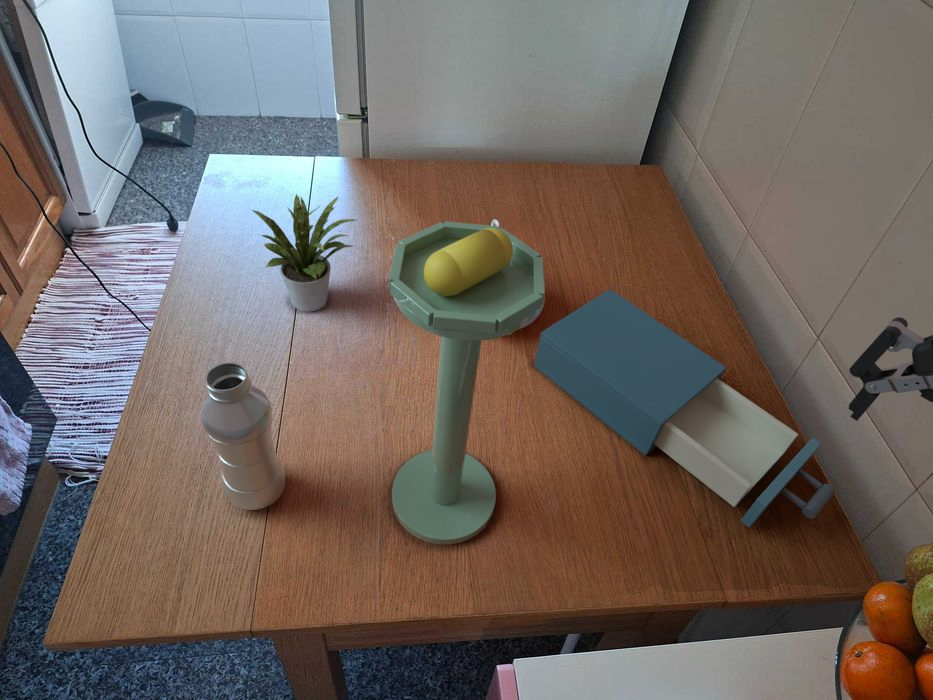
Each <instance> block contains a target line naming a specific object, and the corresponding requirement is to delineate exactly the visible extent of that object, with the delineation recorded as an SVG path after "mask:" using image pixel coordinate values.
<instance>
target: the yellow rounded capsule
mask: <svg viewBox="0 0 933 700" xmlns="http://www.w3.org/2000/svg"><path fill="white" fill-rule="evenodd" d="M512 255H513V246H512V243H511V240H510V238H509V237H508V236H507V235H506V234H505V233H504V232H503V231H501V230H499V229H496V228H486V229H482V230H480V231H478V232H476V233H474V234H472V235H469V236H467V237H465V238H463V239H461V240H459V241H457V242H455V243H453V244H451V245H449V246H446V247H444V248H442V249H440V250H438V251H436V252H435V253H433V254H432V255H431V256H430V257H429V258H428V259H427V261H426V263H425V266H424V279H425V282H426V284H427V285H428V287H429V288H430V289H431V290H432V291H433V292H435V293H436V294H439V295H442V296H453V295H456V294H458V293H460V292H462V291H464V290H466V289H468V288H470V287H471V286H473V285H475V284H477V283H479V282H481V281H483V280H485V279H486V278H488V277H490V276H492V275H494V274H496V273H498V272H500V271H501V270H503V269H504V268H505V267H506V266H507V265H508V264H509V263H510V261H511V259H512Z"/></svg>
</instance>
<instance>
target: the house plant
mask: <svg viewBox="0 0 933 700" xmlns="http://www.w3.org/2000/svg"><path fill="white" fill-rule="evenodd" d="M338 198H339V196H336V197H335V198H334V199H333V200H331V201H330V202H329V203H328V204H327V205H326V206H325V207H324V209H323V210H322V213H321V214H320V216H319V218H318V220H317V221H316V223H315V225H314V224H310V216H311V215H312V214H313V213H314V212H315V211H316V210H318V209H320V207H321V206H322V205H321V204H320V205H319V206H317V207H315V209H313V210H311V211H310V212H308V208H307V205H306V203H305V200H304V199H303V198H302V196H300V197H299V195H298V193H296V194H295V196H294V201H293V211H292V209H290V208H289V206H288V207H287V210H288V211H289V213H290V215H291V218H292V219H293V220H292V221H293V223H292V225H293V226H292V231H293V234H294V239H295V241H294V242H295V244H294V245H293V244H292V242H291V241H290V240H289V238H288V236H287V235H286V234H285V232H284V231H283V229H282V228H281V227H280V225H279V224H278V223H277V222H276V221H275V220H274V219H272V218H270V217H269V216H267V215H265V214H264V213H263V212H261V211H258V210H254V209H251V211H252V212H253V213H255V214H256V215H257V216H258V217H259V218H260V219H261V220H262V221H263V222H264V223H265V224H266V226H268V228H270V230H271V231H272V234H273V236H274V237H273V236H270V235H268V234H262V235H260V236H261V237H263V238H266V239H269V240H270V241H271V242H267V243H264V244H263V245H264V247H265V248H266V249H267V250H268V251H270V252H272V253H273V254H275V255H278V256H279V257H273V258H272V259H270V260H269V261H268V262H267V264H266V265H265V267H264V269H266V268H272V267H273V268H274V267H278V266H280V267H279V273H280V275H281V277H282V281H283V283H284V285H285V288H286V291H287V295H288V296H289V299H290V302H291V304H292V307H294V308H295V309H297V310H300V311H301V312H307V313H308V312H309V313H310V312H316V311H318V310H320V309H322V308H323V307H325V305H326V304H327V302H328V294H329V287H330V286H329V284H330V278H331V277H330V275H331V268H332V267H331V263H330V261H329V260H328V259H329V258H330V257H332V255H333V254H335V253H337V252H339V251H340V250H343V249H345V248H352V247H353V245H352V244H344V243H343V242H341V241H338V240H337V241H336V239H338V238H340V237H342V238H343V237H349V235H348V234H343V233H342V234H340V233H339V234H338V233H337V234H335V235H333V236H331V237H330V238H328V240H326V241H325V242H324V244H323V245H322V243H321V241H322V240H323V239H324V238H325V236H326V235H327V234H328V233H329V232H331V231H332V230H333V229H335V228H337V227H338V226H340V225H342V224H346V223H351V222H355V221H357V219H355V218H344V219H339V220H336V221H334V222H332V223H330V224H329V225H328V226H327V227H326V228H324V226H325V225H326V224H327V223H328V220H329V219H328V218H329V216H330V214H331V213H332V211H334V209H335V207H334V205H335V204H336V202H337V201H338ZM312 229H313V232H312V233H311V231H312ZM310 235H311V237H310ZM334 240H335V241H334ZM330 249H332V250H330ZM327 250H330V252H329V253H327V255H326V256H323V255H322V254H323V253H326V251H327Z"/></svg>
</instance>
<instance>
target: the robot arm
mask: <svg viewBox="0 0 933 700" xmlns="http://www.w3.org/2000/svg"><path fill="white" fill-rule="evenodd" d="M908 326H909V323H908V321H907V319H905V318H903V317H899V316H898V317H895V318H893V319H892V320H891V321H890V322H889V323H888V324H887V326H886V327H885V328H884V329H883V330H882V331H881V332H880V334H878V336H877V337H876V338H875V339H874V340H873V341H872V342H871V344H870V345H869V346H868V347H867V348H866V349H865V350H864V351H863V352H862V353H861V355H859V357H858V358H857V360H856V361H854V362H853V364H852V365H851V366H850V367H849V371H848V372H849V374H850V375H851V376H853V377H855V378H859V379H860V380H861V382H862V383H863V384H862V388H861V389H860V390H859V392H858V393H857V394H856V396H854V398H853V399H852V400H851V402H850V403H849V404H848V410H849V411H851V412H852V413H851V415H850V416H849V417H850V418H851V419H853V420H854V421H856V422H858V421H859V419H860V418H861V417H862V416H863V415H864V414H865V412H866V411H867V410H868V409H869V408H870V406H871V405H872V404H873V403H874V402H875V401H876V399H877V398H878V397H879V396H880V395H881V394H882V393H889V392H895V394H900V393H907V392H914V391H919V392H920V393H921V394H920V397H921V398H923V399H925V400H926V401H928V402H930V403H933V334H931V335H928V336H925V337H922V336H921V335H919V334H917V333H916V332H914V331H913V330H911V329H909V328H908ZM904 349H908V350H911V351H912V352H911V357H912V361H907V362H903V363H902V364H900V365H897V366H892V367H886V368H880V367H879V366H878V365H877V364H876V363H877V362H878V360H879V359H880V358H881V357H882V356H883V355H884V354H885V353H886V352H887V351H889V353H896V352H900V351H901V350H904Z"/></svg>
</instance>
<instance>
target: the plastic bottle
mask: <svg viewBox="0 0 933 700" xmlns="http://www.w3.org/2000/svg"><path fill="white" fill-rule="evenodd" d="M204 380H205V386H206V391H207V394H208V396H207V397H206V399H205V400H204V403H203V405H202V410H201V415H200V416H201V417H200V419H201V423H202V426H203V428H204V430H205V432H206V433H207V435H208V437H209V438H210V440H211V442H212V443H213V445H214V447H215V449H216V452H217V455H218V457H219V459H220V465H221V471H222V474H221V481H222V489H223V493H224V495H225V496H226V498H227V499H228V501H229V502H230V503H231V504H232V506H234V507H236V508H238V509H240V510H245V511H257V510H262V509H265V508H267V507H269V506H270V505H273V504H274V503H275V502H276V501H278V499H279V498H280V497H281V495H282V494H283V492H284V489H285V485H286V484H285V483H286V471H285V468H284V466H283V464H282V462H281V460H280V458H279V457H278V455H277V452H276V450H275V447H274V442H273V432H272V427H273V425H272V424H273V422H272V421H273V411H272V410H273V409H272V403H271V401H270V399H269V398H268V396H267V395H266V393H265V392H264V391H263V390H262V389H260V388H259V387H257V386H255V385H253V384H252V380H251V378H250V377H249V374H248V371H247V370H246V368H245V367H244V366H243V365H241V364H240V363H236V362H223V363H222V362H221V363H219V364H217V365H215V366H212V367H211V368H210V369H209V370H208V371H207V372H206V374H205V379H204Z"/></svg>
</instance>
